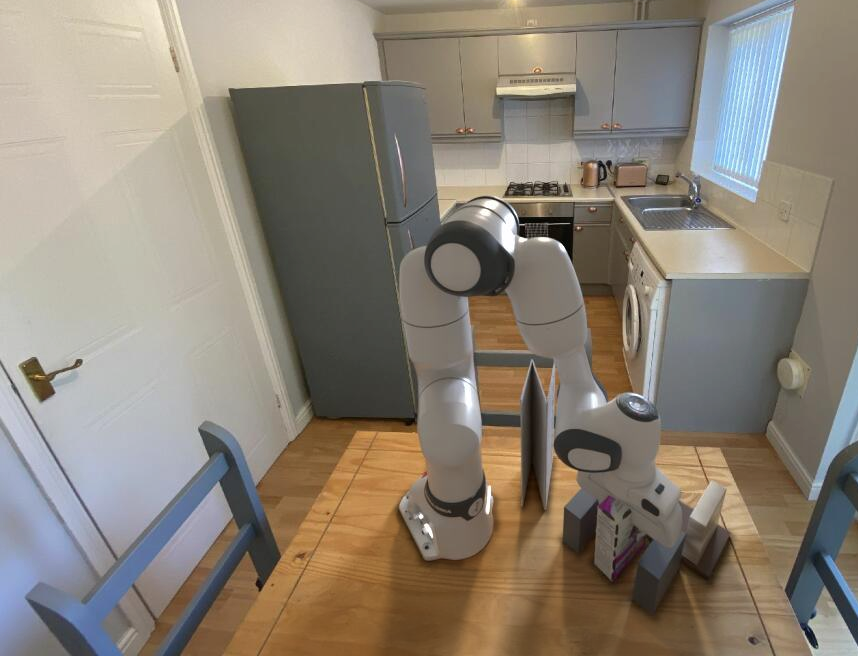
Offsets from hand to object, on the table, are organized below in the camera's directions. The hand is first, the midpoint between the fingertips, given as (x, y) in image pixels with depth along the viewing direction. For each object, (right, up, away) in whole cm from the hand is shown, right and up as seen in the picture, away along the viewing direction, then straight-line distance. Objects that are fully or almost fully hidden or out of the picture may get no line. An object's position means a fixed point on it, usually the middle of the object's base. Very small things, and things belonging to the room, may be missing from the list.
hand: (622, 526), depth 81 cm
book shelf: (+10, -4, +11) cm, 15 cm away
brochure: (-15, -1, +19) cm, 25 cm away
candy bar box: (0, -8, +3) cm, 8 cm away
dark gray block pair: (0, -7, +3) cm, 8 cm away
